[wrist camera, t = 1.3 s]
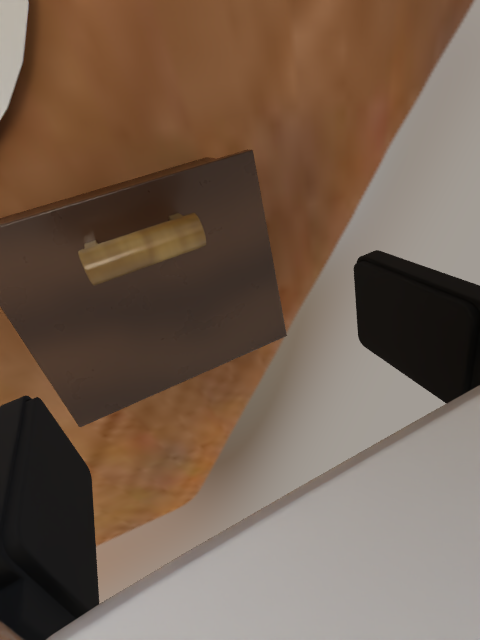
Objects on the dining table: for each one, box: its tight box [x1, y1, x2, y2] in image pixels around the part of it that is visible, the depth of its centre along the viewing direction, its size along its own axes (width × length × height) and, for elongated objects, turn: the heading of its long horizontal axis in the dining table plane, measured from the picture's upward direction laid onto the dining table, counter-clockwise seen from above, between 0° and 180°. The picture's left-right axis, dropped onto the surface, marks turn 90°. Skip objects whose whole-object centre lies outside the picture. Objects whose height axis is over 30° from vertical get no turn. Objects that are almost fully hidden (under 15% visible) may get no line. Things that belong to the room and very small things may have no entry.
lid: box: [0, 150, 287, 427], centre depth 22 cm, size 14×17×5 cm
